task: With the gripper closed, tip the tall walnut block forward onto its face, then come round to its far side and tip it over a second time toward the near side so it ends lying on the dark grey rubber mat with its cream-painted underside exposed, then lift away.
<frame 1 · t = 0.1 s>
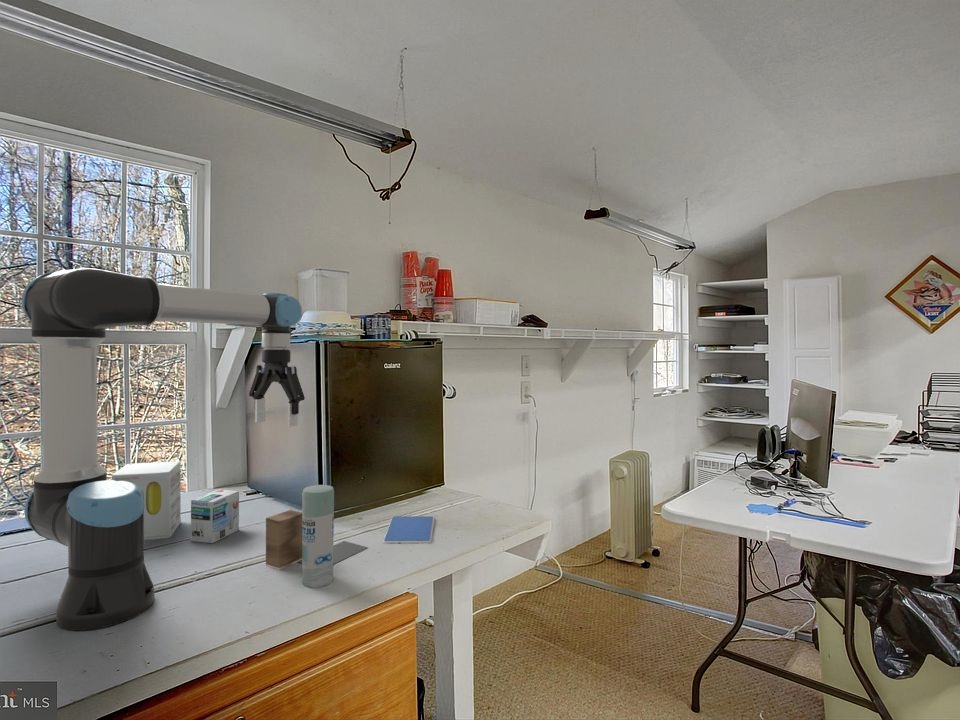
hand: (276, 424, 148), 28 cm above the table, fingers open, 13 cm apart
tablet computer: (410, 533, 144), on the table
walnut block: (285, 562, 122), on the table
light bulb box: (215, 536, 138), on the table
mat: (333, 554, 126), on the table
supplement box: (148, 533, 139), on the table
spray paint can: (317, 581, 112), on the table
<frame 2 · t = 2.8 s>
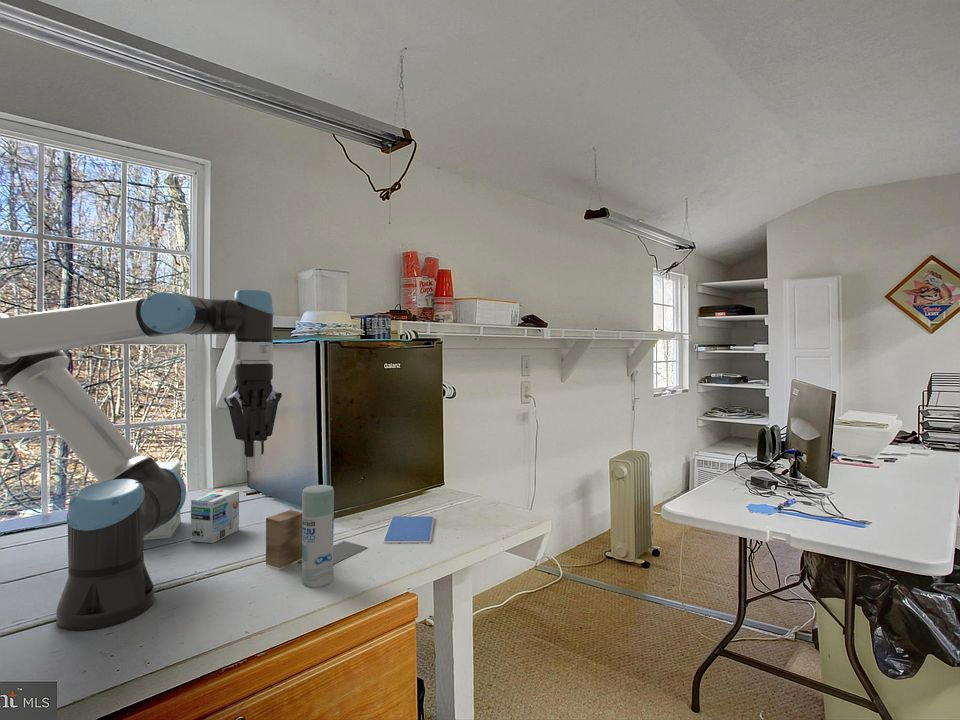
hand: (254, 470, 114), 23 cm above the table, fingers closed
nothing on the table moved.
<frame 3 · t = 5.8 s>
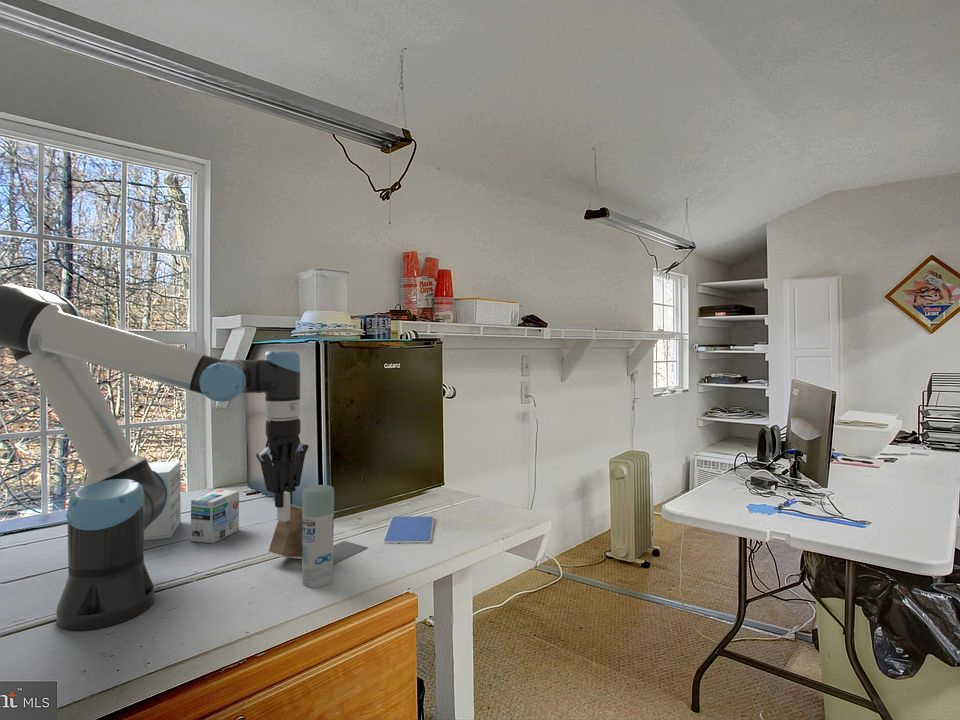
hand: (283, 519, 121), 10 cm above the table, fingers closed
walnut block: (286, 556, 122), point 1 cm above the table, tilted 23°, touching gripper
everything else where it was.
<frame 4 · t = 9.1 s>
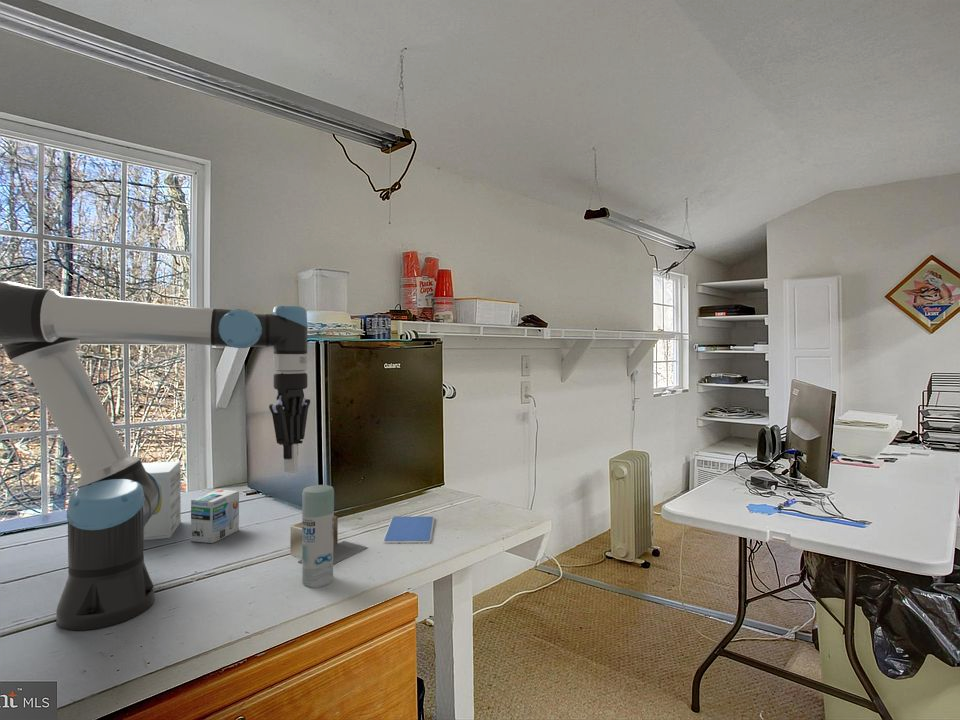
hand: (290, 471, 124), 21 cm above the table, fingers closed
walnut block: (296, 542, 125), point 3 cm above the table, tilted 90°
everything else where it was.
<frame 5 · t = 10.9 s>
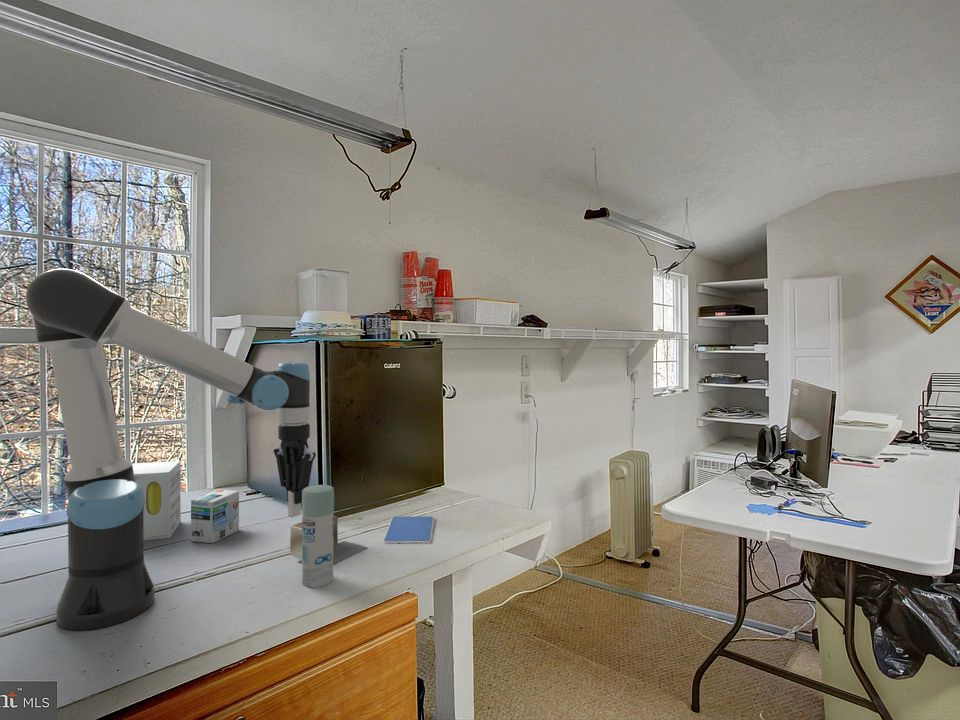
hand: (294, 515, 133), 7 cm above the table, fingers closed
nothing on the table moved.
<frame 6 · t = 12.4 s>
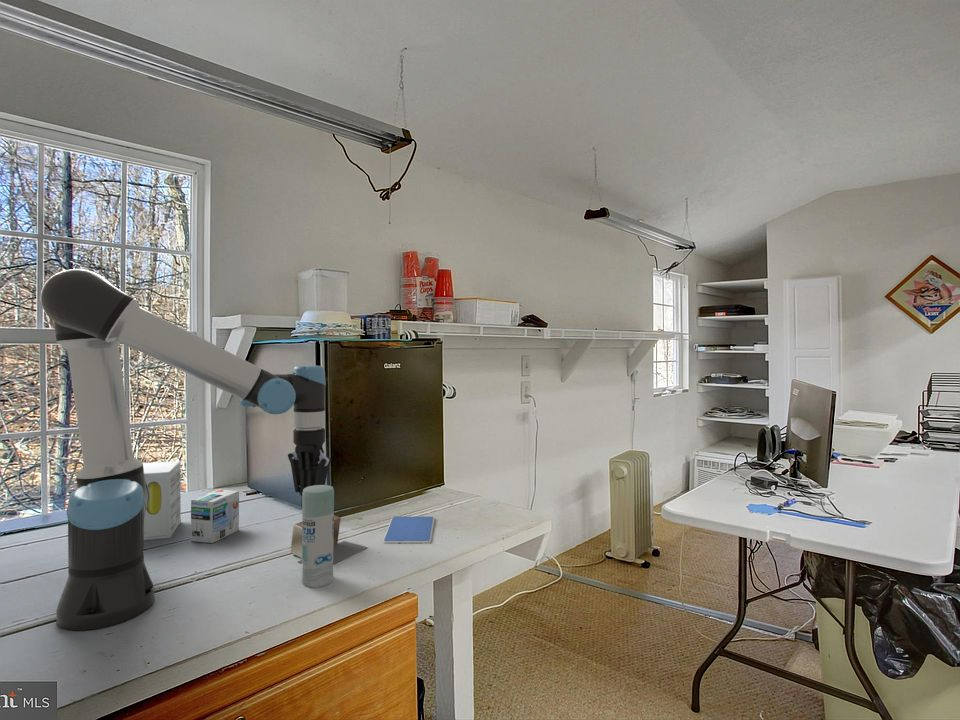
hand: (309, 521, 130), 6 cm above the table, fingers closed
walnut block: (298, 541, 124), point 4 cm above the table, tilted 90°, touching gripper
everything else where it was.
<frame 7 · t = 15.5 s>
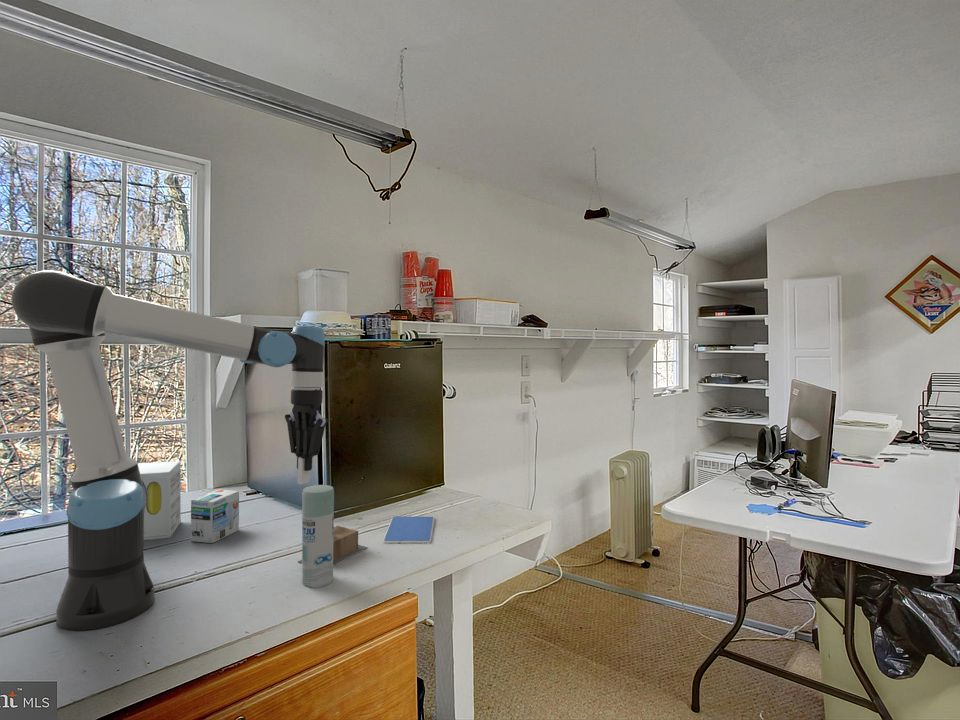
hand: (303, 482, 130), 16 cm above the table, fingers closed
walnut block: (313, 551, 122), point 2 cm above the table, tilted 90°, touching mat
everything else where it was.
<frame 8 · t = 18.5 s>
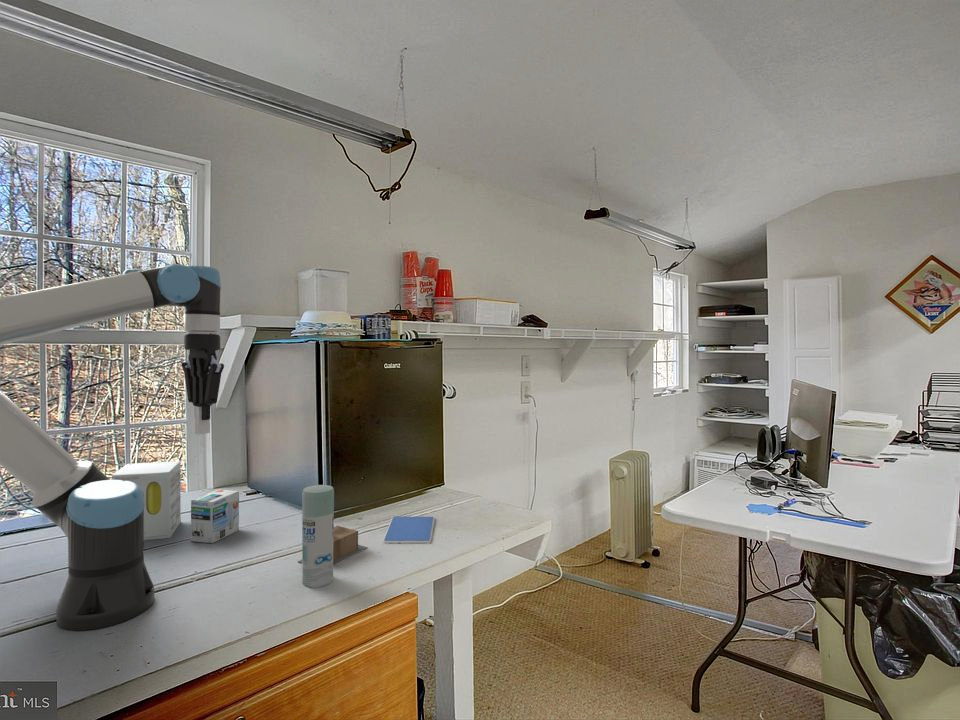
hand: (202, 433, 123), 29 cm above the table, fingers closed
nothing on the table moved.
at the end: walnut block tilted 90°; walnut block inside the target area on the mat (0.3 cm from its centre), point 2.4 cm above the mat's base; walnut block point 2.4 cm above the table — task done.
